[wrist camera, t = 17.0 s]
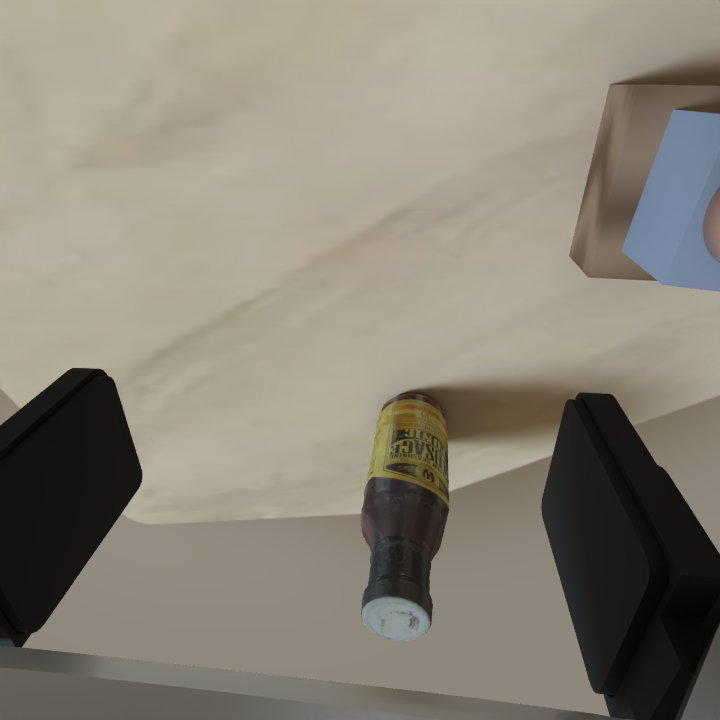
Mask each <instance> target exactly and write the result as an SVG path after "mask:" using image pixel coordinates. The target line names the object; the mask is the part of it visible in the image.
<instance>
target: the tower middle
mask: <svg viewBox="0 0 720 720" xmlns="http://www.w3.org/2000/svg"><path fill="white" fill-rule="evenodd" d="M719 187H720V114H716V113H705V112H694V111H684V110H673V112H672V114H671V117H670V120H669V122H668V125H667V128H666V131H665V133H664V136H663V139H662V141H661V144H660V147H659V150H658V152H657V155H656V158H655V160H654V163H653V166H652V169H651V171H650V174H649V177H648V179H647V182H646V185H645V188H644V190H643V193H642V196H641V198H640V201H639V204H638V207H637V209H636V212H635V215H634V217H633V220H632V223H631V226H630V228H629V231H628V234H627V236H626V239H625V242H624V244H623V247H622V250H621V251H622V252H623V253H624V254H626V255H627V256H628V257H629V258H630V259H632V260H633V261H634V262H635V263H637V264H638V265H639V266H640V267H641V268H643V269H644V270H645V271H646V272H648V273H649V274H650V275H651V276H652V277H654V278H655V279H656V280H657V281H659V282H660V283H661V284H662V285H670V286H678V287H687V288H695V289H704V290H712V291H720V263H718V262H717V261H716V260H715V259H714V258H713V257H712V256H711V255H710V253H709V252H708V250H707V248H706V246H705V242H704V238H703V221H704V217H705V213H706V210H707V207H708V205H709V203H710V201H711V199H712V197H713V195H714V194H715V192H716V191H717V189H718V188H719Z"/></svg>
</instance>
